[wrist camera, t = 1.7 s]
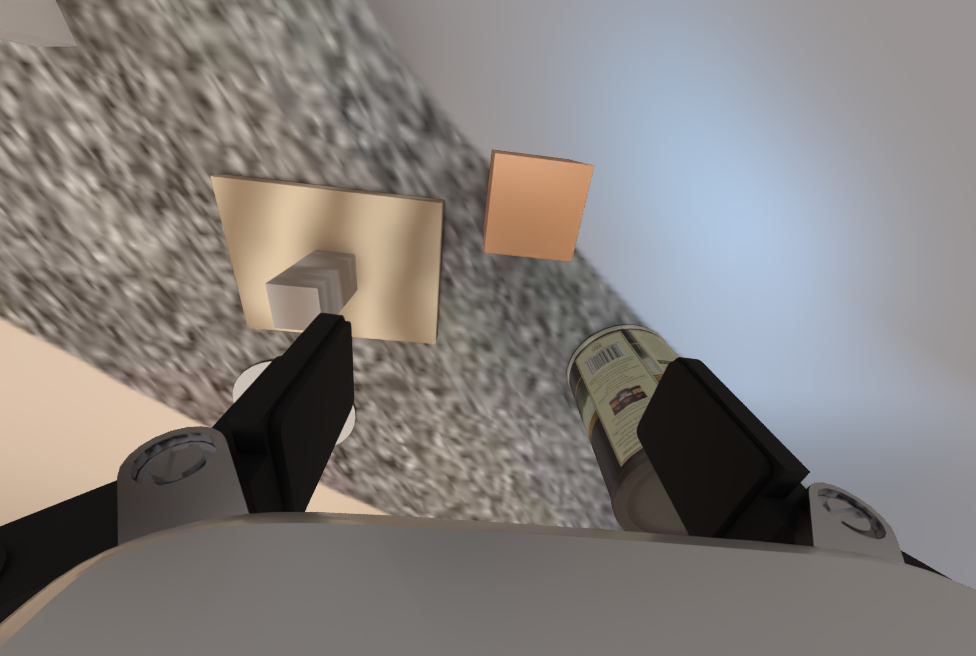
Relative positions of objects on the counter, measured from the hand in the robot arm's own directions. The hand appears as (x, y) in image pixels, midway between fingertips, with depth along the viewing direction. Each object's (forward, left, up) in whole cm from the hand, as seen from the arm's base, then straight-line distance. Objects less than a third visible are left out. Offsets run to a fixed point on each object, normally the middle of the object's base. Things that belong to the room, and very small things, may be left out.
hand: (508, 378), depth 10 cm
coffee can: (-14, +12, -20) cm, 27 cm away
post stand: (+12, +4, -20) cm, 23 cm away
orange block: (-2, -3, -20) cm, 20 cm away
